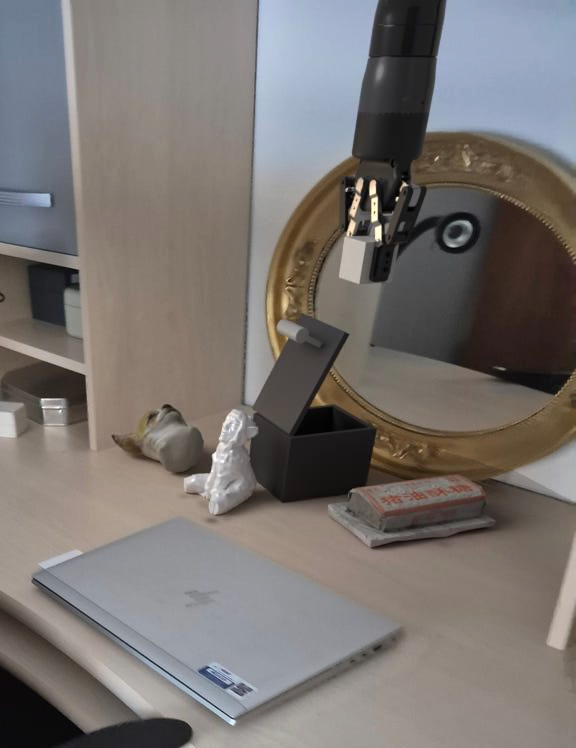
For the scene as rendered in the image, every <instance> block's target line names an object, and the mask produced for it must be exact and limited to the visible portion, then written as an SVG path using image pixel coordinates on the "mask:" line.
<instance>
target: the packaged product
mask: <svg viewBox="0 0 576 748" xmlns="http://www.w3.org/2000/svg"><path fill="white" fill-rule="evenodd" d="M486 496H487V493H486V492H485V490H484V489H483V487H482V486H481V485H480V484H477V483H476V482H473V481H471V480H470V479H469V478H467V477H465V476H463V475H461V474H457V473H456V474H447V475H439V476H432V477H423V478H417V479H410V480H402V481H396V482H395V481H394V482H388V483H381V484H375V485H374V484H373V485H366V487H359V488H355V489H352V490H351V491H349V493H348V494H347V501H344V502H343V501H342V502H337V503H336V502H335V503H329V504H327V515H328V516H329V517H330V518H331V519H333V520H334V521H336V522H337V523H338V524H340V525H341V526H343V527H344V528H345V529H346V530H348V531H349V532H350V533H352V534H353V535H355V536H356V537H357V538H358V539H359V540H360V541H362V542H363V543H364V544H365V545H366V546H367V547H368V548H369V549H370V548H374V547H378V546H381V545H382V546H383V545H386V544H389V543H390V544H391V543H393V542H404V541H412V540H420V539H426V538H427V539H429V538H447V537H450V536H453V535H454V534H457V533H460V532H467V531H470V530H475V529H482V528H491V527H493V526H495V524H496V520H495V519H494V518H492V517H490V516H488V515H487V514H485V513H483V512H484V511H485V510H486V508H487V505H488V504H487V500H486Z"/></svg>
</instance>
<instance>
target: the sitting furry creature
mask: <svg viewBox="0 0 576 748" xmlns="http://www.w3.org/2000/svg"><path fill="white" fill-rule="evenodd" d="M255 424H256V423H255V422H253V416H251V415H249V414H247V413H246V412H244V411H243V410H238V409H237V408H235V409H232V410H231V411H230V412H229V413H228V414H227V416H225V421H224V422H223V423H222V428H221V431H220V436H219V437H218V441H219V443H218V445H217V446H216V451H214V453H212V455H211V458H212V459H211V460H212V465H211V470H210V472H208V473H196V474H195V473H194V474H192V475H189V476H187V477H184V478H183V490H184V493H186V494H190V495H191V494H197V495H199V496H201V497H203V498H204V499H205V500H206V501H209V503H208V510H209V513H210V515H213V516H217V515H218V516H219V515H222V514H227V513H228V511H231V510H232V509H234V508H236V507H238V506H239V505H241V504H242V503H243V502H245V501H247V500H248V499H249V498H250V497H252V496H253V492H254V490H255V489H256V486H257V484H258V482H257V480H256V477H255V473H254V472H253V468H252V467H251V463H250V457H249V450H248V449H247V447H246V446H245V445H247V444H248V443H249V442H251V438H253V437H254V436H255V435H257V434H258V427H255Z"/></svg>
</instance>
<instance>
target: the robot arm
mask: <svg viewBox="0 0 576 748" xmlns="http://www.w3.org/2000/svg"><path fill="white" fill-rule="evenodd" d="M447 2H448V0H378V1H377V4H376V8H375V13H374V17H373V23H372V27H371V35H370V43H369V49H368V55H367V56H368V58H367V61H366V66H365V70H364V74H363V77H362V81H361V86H360V92H359V101H358V107H357V115H356V120H355V126H354V127H355V128H354V134H353V141H352V147H351V155H352V157H353V158H354V159H357V160H359V163H358V166H357V169H356V171H355V174H353V175H346V176H345V175H343V176H341V177H340V179H339V211H338V212H339V214H338V215H339V221H338V222H339V223H338V224H339V225H338V226H339V231H340V232H341V233H343V232H344V233H346V237H349V236H368V235H371V231H372V228H373V226H374V235H375V245H376V247H374V251H373V257H372V263H371V269H370V275H369V280H370V281H372V282H385V281H387V279H388V277H389V274H390V270H391V265H392V264H391V263H392V259H393V254H394V249H395V247H396V246H397V245H398V244H399V245H400V244H403V243H408V242H409V241H410V239H411V236H412V234H413V231H414V228H415V226H416V222H417V219H418V217H419V214H420V212H421V209H422V206H423V204H424V201H425V198H426V195H427V192H428V191H427V190H428V189H427V186H426V185H425V184H424V185H423V184H422V185H416V184H415V183H414V182H413V181H412V163H413V162H414V161H416V160H418V159H420V157H421V156H422V155H423V150H424V145H425V140H426V134H427V129H428V128H427V127H428V122H429V118H430V113H431V107H432V103H433V96H434V92H435V85H436V75H437V64H438V63H437V62H438V56H439V50H440V46H441V45H440V44H441V39H442V35H443V29H444V25H445V17H446V11H447ZM349 217H350V219H349ZM402 223H403V226H402V229H401V224H402ZM386 225H388V227H387V230H386ZM385 283H386V282H385Z"/></svg>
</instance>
